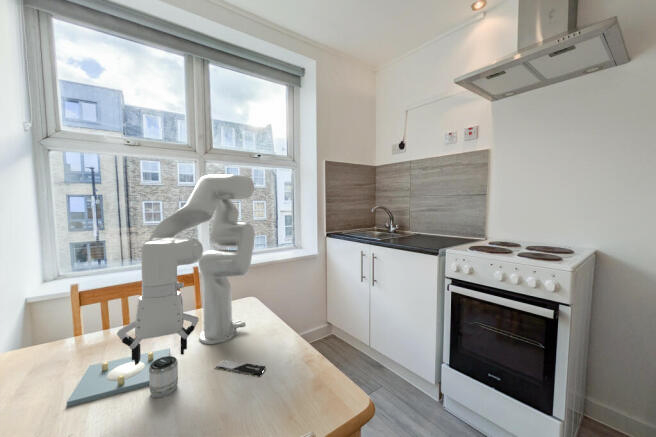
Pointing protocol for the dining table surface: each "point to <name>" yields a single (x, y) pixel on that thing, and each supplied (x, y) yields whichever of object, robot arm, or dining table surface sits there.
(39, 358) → the dining table surface
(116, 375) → the pin board
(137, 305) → the robot arm
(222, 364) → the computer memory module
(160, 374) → the camera lens
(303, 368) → the dining table surface
